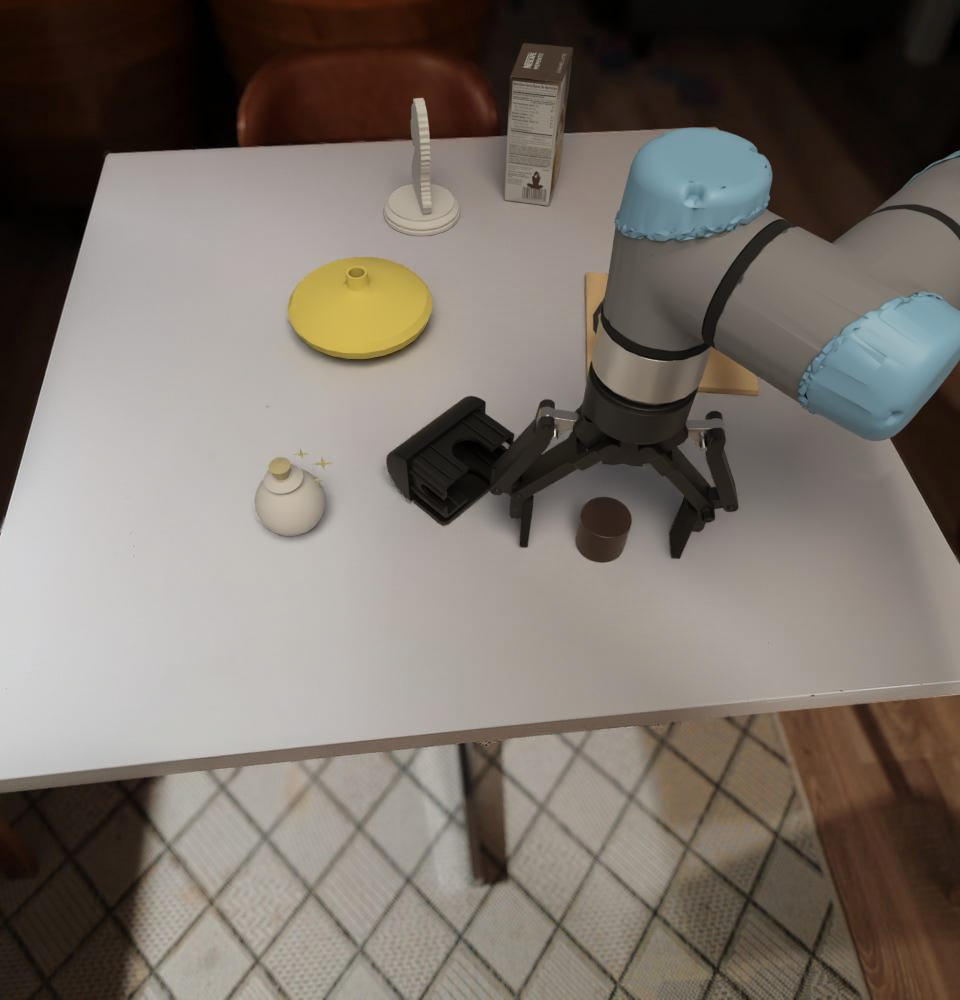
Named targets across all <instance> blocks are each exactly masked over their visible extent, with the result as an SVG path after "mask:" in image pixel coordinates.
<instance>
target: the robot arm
mask: <svg viewBox="0 0 960 1000" xmlns="http://www.w3.org/2000/svg"><path fill="white" fill-rule="evenodd" d="M772 182H773V170H772V166H771V164H770V160H768V158H767V157H766V156H765V155H764V154H761V153H759V152H758V148H757V146H755V144H754V143H753V142H751V141H749V140H747V139H746V138H743V137H742V136H739V135H737V134H734V133H732V132H729V131H725V130H720V129H715V128H709V127H682V128H676V129H673V130H669V131H666V132H663V133H660V135H658V136H657V137H655V138H653V139H650V140H648V141H647V142H646V143H644V144H643V145H642V146H641V147H640V148H639V149H638V151H637V152H636V154H635V155H634V157H633V159H632V162H631V164H630V167H629V172H628V175H627V180H626V182H625V187H624V191H623V194H622V198H621V202H620V206H619V209H618V211H616V215H615V217H614V222H613V223H614V226H615V227H614V234H613V241H612V248H611V256H610V261H609V269H608V273H607V274H608V280H607V286H606V292H605V297H604V298H603V302H602V309H601V313H600V318H599V323H598V328H597V333H596V338H595V342H594V347H593V353H592V361H591V363H590V367H589V372H588V378H587V377H586V382H585V383H586V384H585V388H584V395H583V399H582V403H581V404H580V406H579V407H577V408H576V409H575V411H569V410H565V409H558V408H557V409H556V402H555V401H554V400H552V399H549V398H545V399H541V400H540V402H539V403H538V406H537V409H536V413H535V417H534V419H533V420H532V421H531V422H530V424H528V425H527V427H526V428H525V429H524V430H523V431H522V432H521V433H520V435H518V437H517V438H516V439H514V442H513V443H512V444H511V446H510V445H509V446H508V447H507V450H506V451H505V452H504V453H503V454H502V456H501V457H500V458H499V459H498V460H497V461H496V462H495V463H494V464H493V466H492V467H491V479H490V490H489V493H490V494H491V495H493V496H502V495H504V494H505V495H507V496H509V511H508V516H509V517H510V520H511V519H512V520H520V521H519V522H520V524H519V525H520V526H519V543H518V544H519V545H518V547H519V548H528V546H529V540H530V534H531V525H532V517H533V511H534V504H535V503H534V502H535V495H536V494H537V493H540V492H541V491H543V490H544V489H547V488H548V487H549V486H552V485H553V484H555V483H556V482H559V481H560V480H562V479H564V478H566V477H567V476H568V475H571V474H572V473H574V472H576V471H578V470H579V471H580V472H584V471H587V470H589V469H590V468H592V467H593V466H595V465H597V464H598V463H600V462H601V465H606V466H607V465H608V466H616V465H625V466H629V467H632V468H634V467H635V468H643V467H644V465H648V464H649V465H650V466H651V467H652V468H653V469H654V470H655V472H657V473H658V475H659V476H661V477H665V478H667V479H668V480H669V482H670V483H671V484H672V485H673V487H675V488H676V489H677V491H679V493H680V494H681V495H682V496H683V498H682V500H681V502H680V505H679V507H678V509H677V512H676V515H675V517H674V519H673V522H672V524H671V527H670V529H669V532H668V537H669V548H670V549H669V550H670V556H671V557H670V558H671V559H678V560H679V559H681V557H682V554H683V552H684V550H685V548H686V546H687V544H688V541H689V539H690V537H691V534H692V533H701V532H702V531H703V530H704V528H705V526H706V524H711V523H713V522H714V521H715V520H716V511H717V510H721V509H723V511H724V512H726V513H734V512H736V511H738V510H739V509H740V506H739V498H738V492H737V485H736V481H735V478H734V475H733V472H732V468H731V465H730V462H729V459H728V457H727V453H726V450H725V446H726V442H727V438H726V430H725V425H724V424H725V423H724V418H723V413H722V412H721V411H719V410H711V411H709V412H707V413H706V415H705V417H704V419H689V416H690V413H691V411H692V407H693V405H694V402H695V399H696V396H697V394H698V387H699V384H700V382H701V380H702V378H703V375H704V372H705V369H706V366H707V363H708V360H709V357H710V354H711V351H712V348H714V349H715V350H717V351H719V352H721V353H722V354H724V355H726V356H727V357H729V358H730V359H732V360H733V361H735V362H736V363H738V364H739V365H741V366H743V367H744V368H746V369H747V370H749V371H750V372H752V373H753V374H755V375H756V376H757V378H760V379H761V380H762V381H764V382H765V383H767V384H768V385H770V386H771V387H773V388H775V389H777V390H778V391H779V392H781V393H783V394H784V395H786V396H787V397H789V398H790V399H792V400H793V401H795V402H796V403H798V404H799V405H800V406H801V408H802V409H804V410H806V411H808V412H809V413H810V414H812V415H818V416H820V417H822V418H824V419H826V420H828V421H830V422H832V423H834V424H835V425H837V426H839V427H841V428H843V429H845V430H846V431H849V432H850V433H852V434H854V435H856V436H858V437H859V438H862V439H864V440H867V441H869V442H882V441H885V440H888V439H890V438H891V439H892V438H893V437H895V436H896V435H898V434H899V433H900V432H901V431H902V430H903V429H905V427H906V426H908V424H909V423H911V421H912V420H913V419H914V417H915V416H916V415H917V414H918V413H919V412H920V410H921V409H922V408H923V407H924V405H926V404H927V402H928V401H929V400H930V399H931V398H932V397H933V396H934V395H935V393H936V392H937V391H938V390H939V388H940V387H941V386H942V385H943V383H944V382H945V380H946V379H947V378H948V377H949V376H950V374H951V373H952V372H953V370H954V368H955V367H956V366H957V364H958V363H959V362H960V150H958V151H955V152H953V153H951V154H949V155H948V156H946V157H943V159H939V160H937V161H935V162H933V163H931V164H928V166H926V167H925V168H924V169H923V170H922V171H919V172H918V173H915V175H913V176H912V178H910V179H909V180H908V181H907V182H906V183H905V184H904V185H903V186H902V187H901V189H899V190H898V191H897V192H896V193H895V194H893V195H892V196H891V197H889V198H888V199H887V200H885V201H884V202H883V203H882V204H881V205H879V206H877V208H876V209H874V210H873V211H871V212H870V213H869V214H868V215H867V216H865V217H864V218H862V219H861V220H860V221H859V222H857V223H856V224H855V225H854V226H853V227H851V228H850V229H848V230H847V231H846V232H845V233H843V234H842V235H841V236H839V237H838V238H837V239H835V240H834V241H833V242H830V241H827V240H825V239H824V238H822V237H820V236H818V235H816V234H813V233H812V232H810V231H808V230H806V229H804V228H803V227H800V226H798V225H796V224H793V223H791V222H789V221H787V219H786V218H783V217H782V216H779V215H777V214H776V213H774V212H772V211H770V210H769V209H767V207H768V206H769V201H770V200H771V196H770V191H771V188H772V187H771V186H772ZM565 431H566V432H567V431H571V432H570V433H569V436H568V437H566V438H565V439H564V440H562V441H561V442H560V443H557V444H556V445H554V446H552V447H551V448H549V449H548V447H549V446H550V445H551V442H558V440H559V437H560V436H562V434H563V433H564V432H565ZM687 439H691V440H693V442H694V445H695V446H697V447H699V451H700V452H703V453H705V460H706V464H707V466H708V469H709V472H710V475H711V478H712V480H713V481H712V482H713V484H714V486H712V485H711V484H710V483H709V482H708V480H707V479H706V478H705V477H704V476H703V475H702V473H700V471H699V470H698V469H697V468H696V467H695V466H694V464H693V463H692V462H691V461H690V460H689V459H688V457H687V456H686V455H685V454H684V453H683V451H682V450H681V449H680V448H679V447H680V446H681V445H683V444H684V443H685V442H686V441H687ZM547 449H548V450H547Z"/></svg>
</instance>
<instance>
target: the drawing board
mask: <svg viewBox="0 0 960 1000" xmlns="http://www.w3.org/2000/svg"><path fill="white" fill-rule="evenodd" d="M608 274H609V273H603V272H589V271H588V272H585V278H584V279H585V280H584V281H585V284H584V285H585V352H586V353H585V356H586V357H585V358H586V359H585V360H586V363H585V364H586V379H587V378H588V372H589V367H590V363H591V361H592V353H593V347H594V342H595V338H596V333H597V328H598V323H599V318H600V313H601V309H602V302H603V298H604V297H605V292H606V286H607V280H608ZM760 390H761V389H760V386H759V380H758V376H756V375H755V374H753V373H752V372H750V371H749V370H747V369H746V368H744V367H743V366H741V365H739V364H738V363H736V362H735V361H733V360H732V359H730V358H729V357H727V356H726V355H724V354H722V353H721V352H719V351H717V350H715V349H714V348H712V351H711V354H710V357H709V360H708V363H707V366H706V369H705V372H704V375H703V378H702V380H701V382H700V384H699V387H698V391H697V393H699V392H700V393H712V394H713V393H715V394H729V395H741V396H742V395H744V396H758V395H759V393H760Z"/></svg>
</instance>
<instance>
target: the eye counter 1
mask: <svg viewBox="0 0 960 1000" xmlns="http://www.w3.org/2000/svg"><path fill="white" fill-rule="evenodd" d="M632 521H633V518H632V513H631V511H630V509H629V508H628V507H627V506H626V504H624V503H623V502H622V501H620V500H618V499H617V498H614V497H610V496H598V497H594V498H592V499H590V500H588V501H587V502H586V503H585V504H584V505H583V506H582V508H581V511H580V515H579V520H578V525H577V529H576V533H575V546H576V548H577V550H578V552H579V553H580V554H581V555H582V556H583V557H584V558H586V559H587V560H589V561H592V562H595V563H601V564H602V563H610V562H613V561H615V560H616V559H618V558H619V557H620V556H621V555H622V553H623V551H624V549H625V545H626V543H627V539H628V537H629V536H628V535H629V534H630V533H629V532H630V531H631V527H632V523H633V522H632Z"/></svg>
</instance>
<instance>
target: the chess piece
mask: <svg viewBox="0 0 960 1000" xmlns="http://www.w3.org/2000/svg"><path fill="white" fill-rule="evenodd" d="M412 102H413V103H412V104H411V106H410V107H411V108H410V110H411V112H410V113H411V114H410V115H411V119H410V120H409V122H410V136H411V139H412V140H411V141H412V146H413V147H414V149H413V150H414V151H413V155H412V161H411V181H412V183H409V184H405V185H402V186H400V187H398V188H396V189H395V190H394V191H393V192H392V193H391V194H390V195H389V196H388V197H387V198H386V200H385V202H384V206H383V218H384V220H385V222H386V224H387V225H388V226H389V227H391V228H392V229H393V230H394V231H397V232H399V233H401V234H404V235H408V236H415V237H428V236H429V237H430V236H434V235H438V234H441V233H444V232H446V231H448V230H450V229H452V227H454V226H455V225H456V224H457V223H458V221H459V219H460V216H461V208H460V204H459V201H458V199H457V198H456V197H455V196H454V195H453V194H452V193H451V191H449V190H448V189H447V188H445V187H443V186H441V185H438V184H434V183H431V160H432V159H431V140H430V139H431V138H430V125H429V118H428V117H429V116H428V110H427V106H426V101H425V99H424V97H418V98H417V97H416V98H413V99H412Z"/></svg>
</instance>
